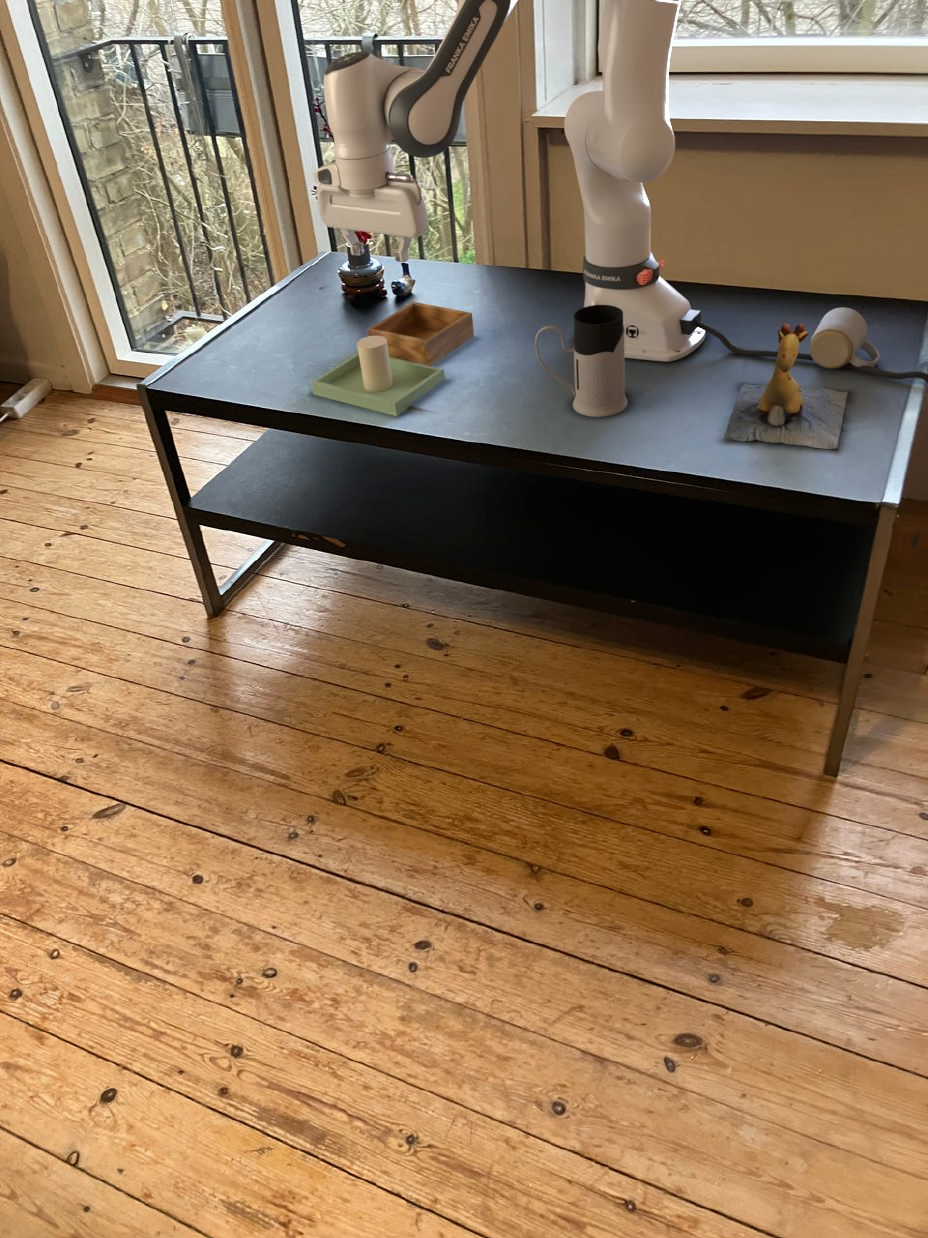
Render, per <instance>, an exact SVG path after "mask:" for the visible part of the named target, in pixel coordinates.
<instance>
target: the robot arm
mask: <svg viewBox="0 0 928 1238" xmlns="http://www.w3.org/2000/svg"><path fill="white" fill-rule="evenodd" d="M518 1H519V0H458V5H457V7H456V8H457V9H456V12H455V15H454V17H453V20H452V22H451V24H450V25H449V27H448V29H447V31H446V33H445V35H444V36H443V39H442V41H441V43H440V44H439V46H438V48H437V50H436V52H435V54H434V56H433V57H432V59H431V61H430V63H429V65H428V67H427V68H426V70H423V69H420V68H417V67H412V66H411V67H410V66H403V65H398V64H394V63H391V62H389V61H386V60H383V59H381V58H379V57H377V56H375V55H374V54H372V53H371V52H369V51H364V50H359V51H356V52H355V51H354V52H349V53H347V54H344V55H342V56H340V57H338V58H336V59H335V60H334V61H332V62H331V63H330V64H328V66H327V67H326V70H325V72H324V75H323V96H324V97H323V98H324V104H325V111H326V118H327V122H328V128H329V130H330V131H331V134H332V137H333V143H334V145H333V156H334V159H333V160H331V161H330V162H328V163H326V164H323V165H322V166H320V167H318V168H317V169H315V170H313V172H312V175H313V179H314V183H315V184H316V185H317V187H316V200H317V201H316V202H317V207H318V212H319V217H320V220H321V221H322V223H323V224H324V225H325V226H326V227H327V228H334V229H340V230H341V235H342V236H343V238H344V240H345V241H346V243H347V244H348V246H349V249H350V254H351V255H352V256H355V257H356V256H357V257H361V256H362V255H364V254H365V248H364V242H363V241H360V240H359V238H358V236H357V234H356V233H355V232H357V231H358V232H364V233H365V232H366V233H371V234H380V235H387V236H394V237H396V241H397V243H399V246H398V249H397V250H394V251H393V252H394V257H395V258H394V259H395V261H396V263H397V262H398V263H406V262H408V261H409V259H410V255H409V248H410V245H411V244H412V243H411V242H412V240H413V239H416V238H419V237H421V236H422V235H424V234H425V233H427V231H428V230H429V228H430V220H429V214H428V210H427V206H426V202H425V200H424V199H425V198H424V195H423V193H422V187H421V184H420V183H419V182H418V181H417V180H416V178H414V177H413V175H412V174H408V173H404V174H403V173H399V172H398V173H397V172H395V167H394V161H393V153H392V147H391V142H392V141H394V142H395V144H396V145H397V146H398V148H399V149H400V150H401V151H403V152H404V153H406V154H407V155H409V156H411V157H414V158H418V159H419V158H420V159H428V158H433V157H436V156H438V155H440V154H442V153H443V152H444V151H446V150H447V149H448V148H449V147H450V146H451V144H452V143H453V141H454V140H455V138H456V137H457V133H458V130H459V125H460V121H461V116H462V109H463V104H464V101H465V98H466V96H467V93H468V91H469V89H470V87H471V85H472V83H473V81H474V80H475V78H476V76H477V74H478V72H479V70H480V68H481V67H482V65H483V63H484V61H485V60H486V57H487V56H488V54H489V52H490V50H491V48H492V46H493V44H494V42H495V41H496V38H497V37H498V35H499V33H500V31H501V29H502V27H503V25H504V23H505V22H506V21H507V19H508V17H509V16H510V14H511V13H512V11H513V9H514V8H515V6H516V4H517V3H518ZM681 1H682V0H605V4H604V11H603V14H602V15H603V16H602V20H601V27H600V32H599V40H598V45H597V51H598V58H599V61H600V65H601V71H602V74H601V75H602V90H595V91H588V92H585V93H582V94H580V95H579V96H578V97H577V98H575V99H574V101H572V103H571V104H570V106H569V107H568V109H567V111H566V114H565V117H564V123H563V124H564V125H563V128H564V129H563V130H564V135H565V138H566V140H567V143H568V144H569V145H568V146H569V147H570V151H571V153H572V158H573V162H574V169H575V172H576V173H575V174H576V178H577V183H578V187H579V192H580V193H579V194H580V197H581V203H582V208H583V209H582V210H583V221H584V244H585V245H584V247H585V248H584V251H585V253H584V254H585V255H584V256H583V259H582V263H583V264H582V279H583V284H584V287H585V289H584V302H583V308H584V307H587V306H592V305H611V306H615V307H618V308H620V309H621V310H622V311H623V326H624V359H633V360H634V359H636V360H645V361H655V362H664V363H665V362H673V361H678V360H680V359H682V358H684V357H686V356H688V355H689V354H692V353H693V352H694V351H696V350H697V349H698V348H699V347H700V346H701V345H702V344H703V342H704V340H705V339H706V332H707V333H709V334H710V335H712V336H714V337H716V338H717V339H718V340H719V341H720V342H721V343H722V345H723V346H724V347H725V348H726V349H728V350H729V351H730V352H733V353H735V354H738V355H743V356H751V357H771V358H777V355H778V350H769V349H746V348H741V347H738V346H736V345H733V344H732V343H731V342H730V341H729V340H728V339H727V337H726V336H725V335H724V334H723V333H722V332H720V331H719V330H717V329H716V328H713V327H712V326H710V325H708V324H707V323H704V322H702V320H701V319H702V311H701V310H696V309H692V307H691V304H690V302H689V300H688V299H687V298H686V297H684V296H683V295H682V294H681V293H679V292H678V290H676V289H675V288H674V287H673V286H672V285H670V284H669V282H667V281H666V280H665V279H664V278H662V276H661V274H660V269H662V268H663V267H664V266H665V264H664V262H665V258H662V259H660V260H659V261H658V262H657V260H656V259H655V257H654V254H653V252H652V251H651V238H652V237H651V236H652V235H651V234H652V232H651V229H652V208H651V204H650V201H649V198H648V196H647V194H646V191H645V187H644V184H647V183H650V182H653V181H655V180H657V179H658V178H659V177H661V176H662V175H663V174H664V173H665V172H666V171H667V169H668V168H669V167H670V165H671V163H672V161H673V159H674V156H675V150H676V137H675V134H674V131H673V128H672V125H671V121H670V112H669V71H670V70H669V69H670V59H671V53H672V47H673V41H674V37H675V32H676V27H677V21H678V16H679V10H680V6H681ZM796 360H806V361H814V360H813V358H812V356H811V354H810V353H805V352H798V355H797V357H796ZM814 362H815V361H814ZM843 368H849V369H853V370H858V371H861V372H865V373H866V374H870V375H874V376H877V377H878V376H879V377H883V378H887V379H891V380H892V379H894V380H903V379H904V380H905V379H914V378H916V379H921V380H923V381H925V382H926V383H927V384H928V373H926V372H924V371H918V370H917V371H916V370H912V371H903V372H902V371H901V372H896V371H889V370H883V369H880V368H875V367H869V366H860V367H856V366H854V365H852V364H851V363H847V364H845V365H844V366H843ZM919 534H920V530H917V532H916V533H915V535H914V537H913V538H912V540H911V541H910V548H912V549H915V548H917V546H918V540H919Z"/></svg>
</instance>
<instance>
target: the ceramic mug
mask: <svg viewBox="0 0 928 1238" xmlns="http://www.w3.org/2000/svg"><path fill="white" fill-rule="evenodd" d="M867 336H868V325H867V321H866V320H865V318H864V317H863V316H862V314H860V313H859V312H858V311H857V310H855V309H852V308H850V307H835V308H833V309H831V310H829V311H828V312H826V313H825V314H824V316H823V317H822V319H821V320H820V322H819V324H818V326H817V328H816V329H815V332H814V333H813V335H812V336H811V339H810V343H809V354H811V356H812V358H813V360H814V362H815V363H816V364H817V365H818V366H819V367H822V368H824V369H829V370H834V369H835V370H836V369H839V368H841V367H844V365H845V364H847V363H851V364H852V365H854V366H856V367H860V366H869V367H873V368H875V367H876V365H877V364H878V362H879V361H880V359H881V358H880V356H881V355H880V352H879V351H878V349H877V347H875V346H874V344H872V343H871V342H869V341H868V340H867ZM860 349H861V350H863V351H864V352H866V353H867V354H868V355H869V357H870V358H871V360H872V361H868V360H864V359H863V358H860V357H859V356H857V355H856V354H857V353H858V351H859V350H860ZM813 360H812V361H813Z"/></svg>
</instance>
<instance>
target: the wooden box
mask: <svg viewBox="0 0 928 1238" xmlns="http://www.w3.org/2000/svg"><path fill="white" fill-rule="evenodd" d="M366 331H367V337H368V336H382V337H385V338H386V340H387V346H388V353H389V357H392V358H396V359H401V360H405V361H409V362H414V363H418V364H423V365H427V366H431V367H433V365H434V364H436V363H437V362H439V361H441V360H442V359H443V358H445V357H447V356H449V354H450V353H453V352H454V351H455V350H457V349H458V348H460V347H461V346H462V345H464V344H465V343H467V342H468V341H469V340H471V339H473V338H474V337H475V331H474V322H473V313H472V312H469V311H464V310H459V309H453V308H448V307H443V306H438V305H432V304H428V303H422V302H418V301H412V302H410V303H408V304H406V305H405V306H404V307H401V308H400V309H398V310H397V311H395V312H393V313H392V314H390V315H389V316H387V317H385V318H384V319H382V320H380V321H379V322H377V323H375V324H374V325H372V326H370V327H368V329H366Z"/></svg>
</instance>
